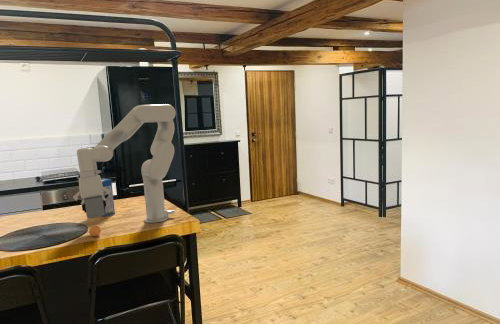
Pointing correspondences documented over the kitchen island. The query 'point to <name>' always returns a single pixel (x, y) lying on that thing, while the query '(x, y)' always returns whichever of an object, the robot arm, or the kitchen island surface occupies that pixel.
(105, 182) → the milk carton
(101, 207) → the gray cube
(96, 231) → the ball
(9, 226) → the kitchen island surface
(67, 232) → the kitchen island surface
